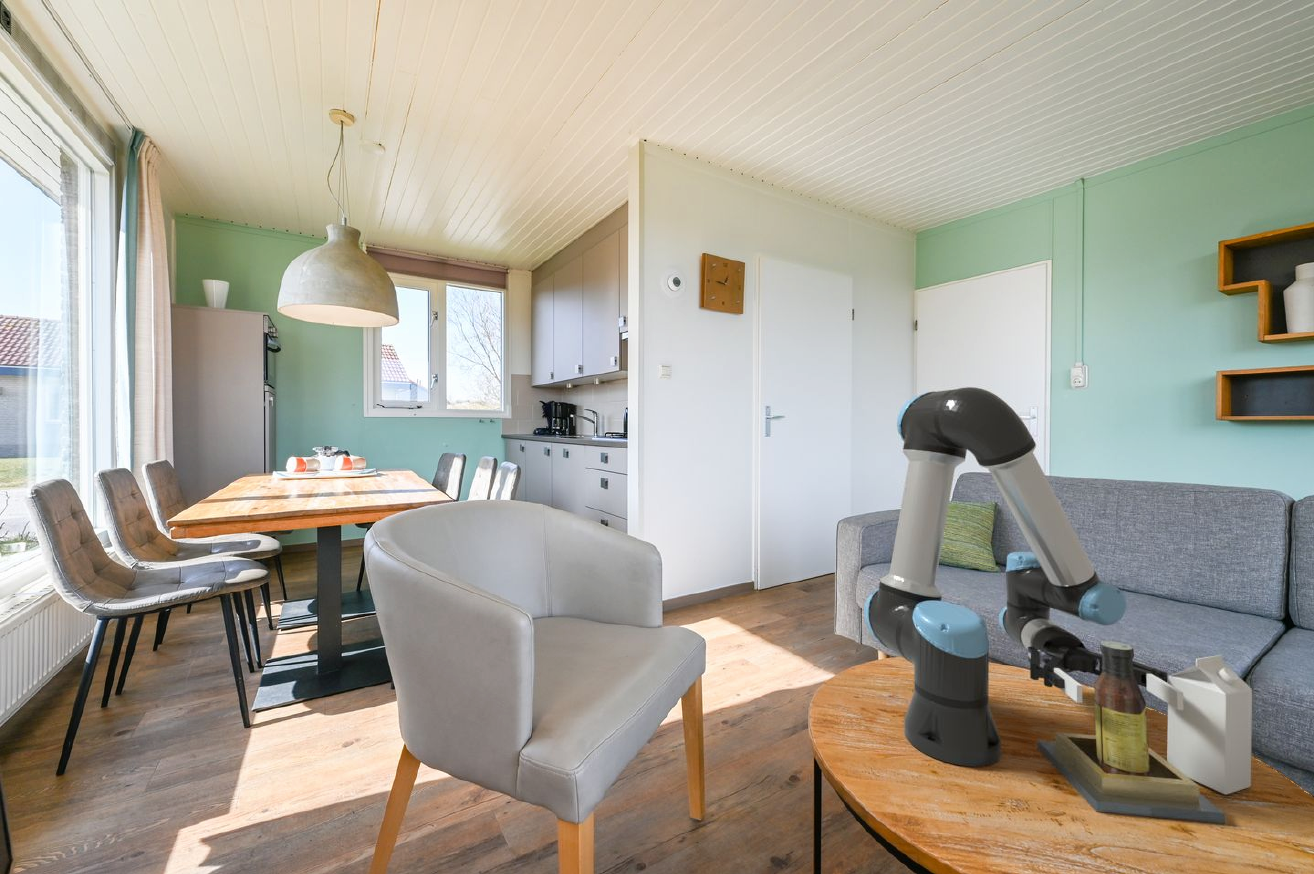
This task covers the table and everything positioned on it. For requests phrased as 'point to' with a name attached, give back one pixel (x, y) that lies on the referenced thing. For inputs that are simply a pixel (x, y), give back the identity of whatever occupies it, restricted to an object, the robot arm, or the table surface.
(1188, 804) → the plate
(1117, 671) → the sauce bottle
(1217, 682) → the milk carton
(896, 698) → the table surface
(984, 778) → the table surface
